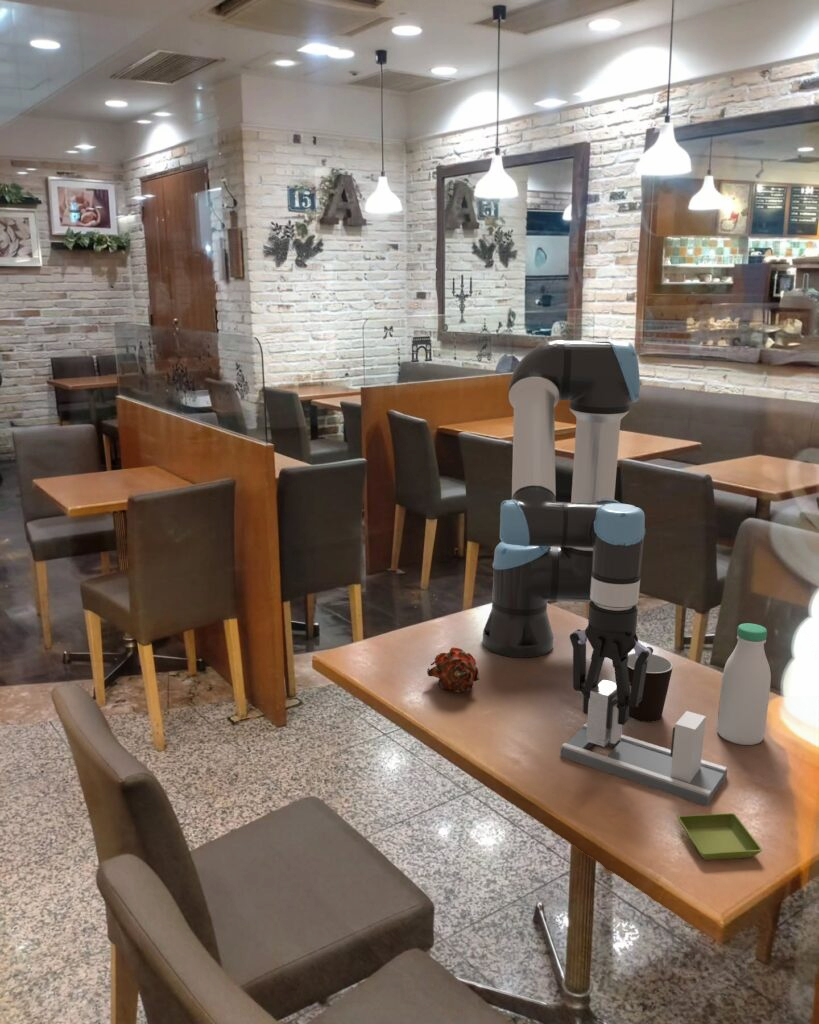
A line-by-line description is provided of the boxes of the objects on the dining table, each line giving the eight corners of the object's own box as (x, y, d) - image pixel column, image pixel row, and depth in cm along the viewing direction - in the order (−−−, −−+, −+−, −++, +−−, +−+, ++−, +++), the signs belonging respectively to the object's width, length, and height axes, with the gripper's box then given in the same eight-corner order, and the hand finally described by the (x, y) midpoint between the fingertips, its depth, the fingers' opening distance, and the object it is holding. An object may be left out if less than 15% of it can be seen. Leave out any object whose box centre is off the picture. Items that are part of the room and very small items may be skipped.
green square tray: (762, 863, 118) (763, 850, 118) (700, 867, 118) (701, 853, 117) (733, 825, 127) (734, 812, 126) (675, 828, 126) (676, 815, 125)
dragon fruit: (467, 710, 162) (437, 693, 173) (498, 677, 165) (465, 662, 176) (442, 679, 159) (412, 664, 170) (473, 646, 162) (442, 633, 172)
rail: (585, 732, 152) (589, 676, 149) (726, 776, 139) (733, 716, 136) (560, 756, 144) (563, 698, 141) (706, 806, 131) (713, 743, 128)
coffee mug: (669, 727, 154) (675, 675, 151) (619, 722, 155) (623, 670, 153) (664, 697, 165) (669, 648, 162) (618, 693, 167) (621, 644, 164)
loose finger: (599, 728, 147) (603, 679, 145) (619, 734, 145) (623, 685, 143) (586, 741, 143) (590, 690, 141) (607, 747, 141) (611, 696, 139)
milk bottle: (772, 744, 148) (787, 635, 143) (730, 748, 147) (743, 637, 142) (748, 722, 156) (761, 617, 151) (708, 725, 155) (719, 620, 149)
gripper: (673, 606, 137) (660, 742, 143) (575, 585, 146) (567, 713, 152) (656, 621, 131) (643, 761, 137) (555, 597, 140) (547, 730, 146)
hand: (603, 735), depth 144 cm, fingers closed on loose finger, 3 cm apart
